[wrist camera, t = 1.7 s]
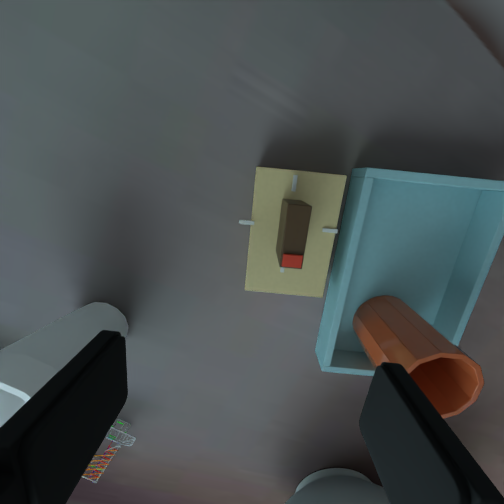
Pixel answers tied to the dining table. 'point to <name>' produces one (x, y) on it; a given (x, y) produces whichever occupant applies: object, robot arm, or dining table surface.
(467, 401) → the cup
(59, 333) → the foam cup
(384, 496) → the decorative bowl
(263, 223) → the switch panel
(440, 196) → the blue tray
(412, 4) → the dining table surface
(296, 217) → the brown switch lever
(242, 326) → the dining table surface
